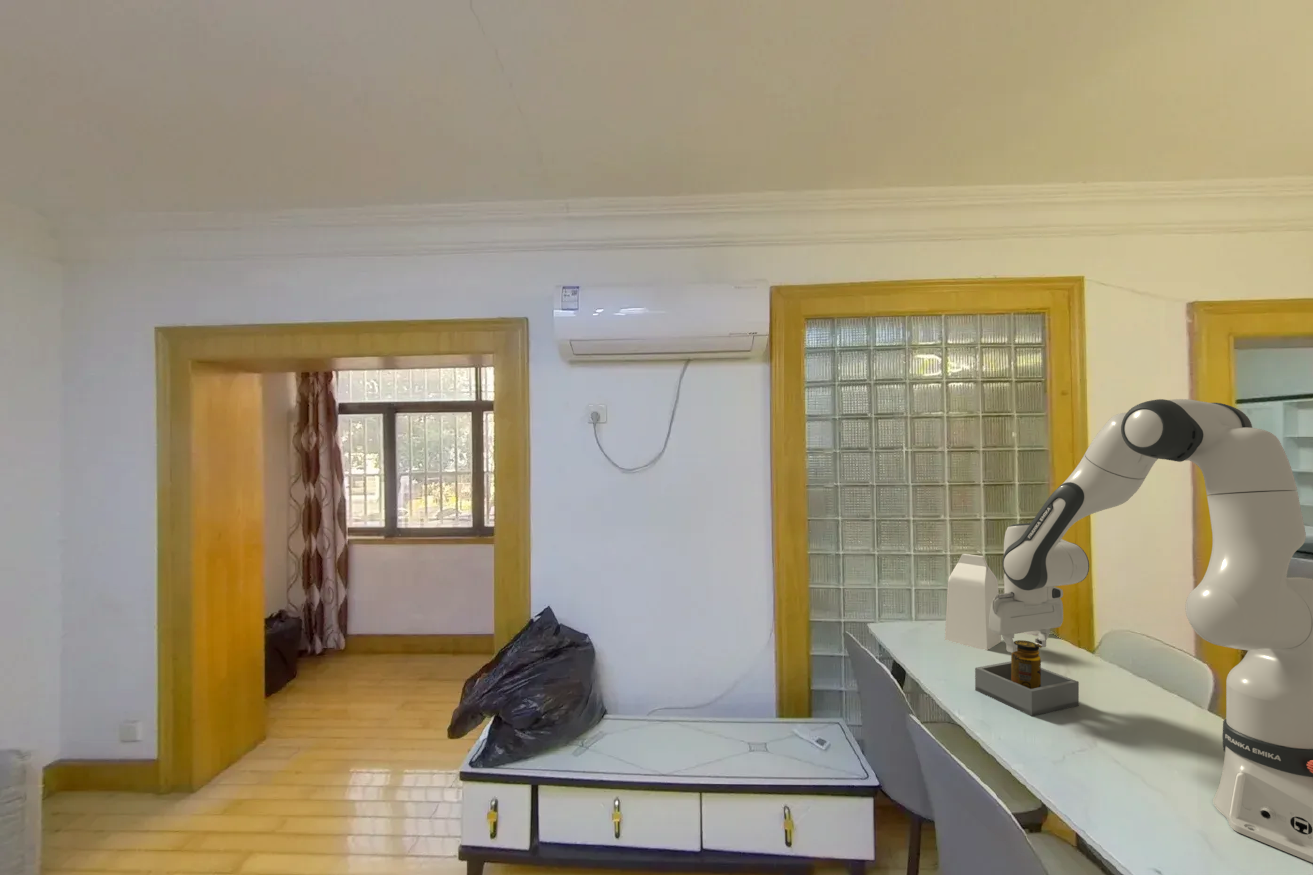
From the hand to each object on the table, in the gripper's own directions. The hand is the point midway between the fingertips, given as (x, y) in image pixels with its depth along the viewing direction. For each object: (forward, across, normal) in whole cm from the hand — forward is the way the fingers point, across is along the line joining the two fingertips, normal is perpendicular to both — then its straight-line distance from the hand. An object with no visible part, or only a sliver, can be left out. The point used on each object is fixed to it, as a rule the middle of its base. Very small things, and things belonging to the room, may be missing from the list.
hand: (1026, 649), depth 147 cm
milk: (+11, +22, +36) cm, 43 cm away
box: (+12, 0, +1) cm, 12 cm away
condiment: (+11, -1, 0) cm, 11 cm away
